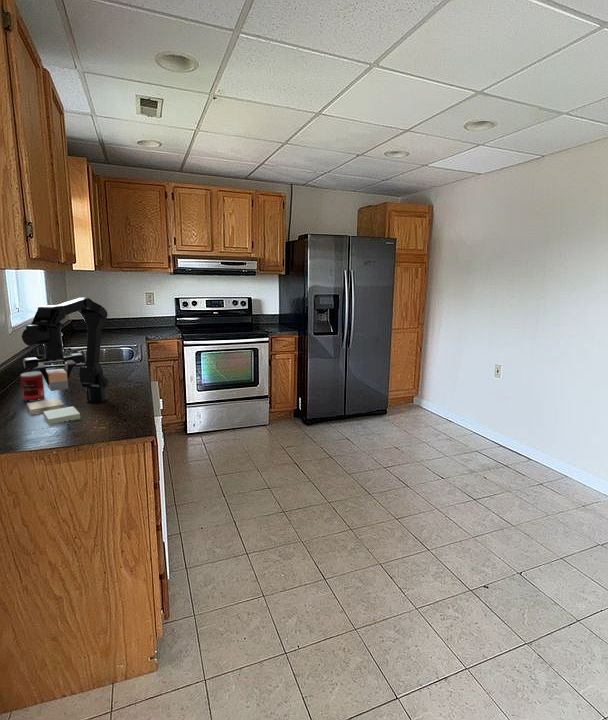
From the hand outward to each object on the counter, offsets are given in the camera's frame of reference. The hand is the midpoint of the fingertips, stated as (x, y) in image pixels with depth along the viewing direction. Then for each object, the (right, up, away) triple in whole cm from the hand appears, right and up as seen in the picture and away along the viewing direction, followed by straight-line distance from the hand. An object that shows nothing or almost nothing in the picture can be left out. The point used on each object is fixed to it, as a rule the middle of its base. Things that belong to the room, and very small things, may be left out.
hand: (57, 383), depth 152 cm
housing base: (0, -2, 0) cm, 2 cm away
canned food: (-25, -8, +25) cm, 36 cm away
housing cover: (0, +1, 0) cm, 2 cm away
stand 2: (0, -13, +2) cm, 13 cm away
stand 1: (-12, -11, +12) cm, 20 cm away
